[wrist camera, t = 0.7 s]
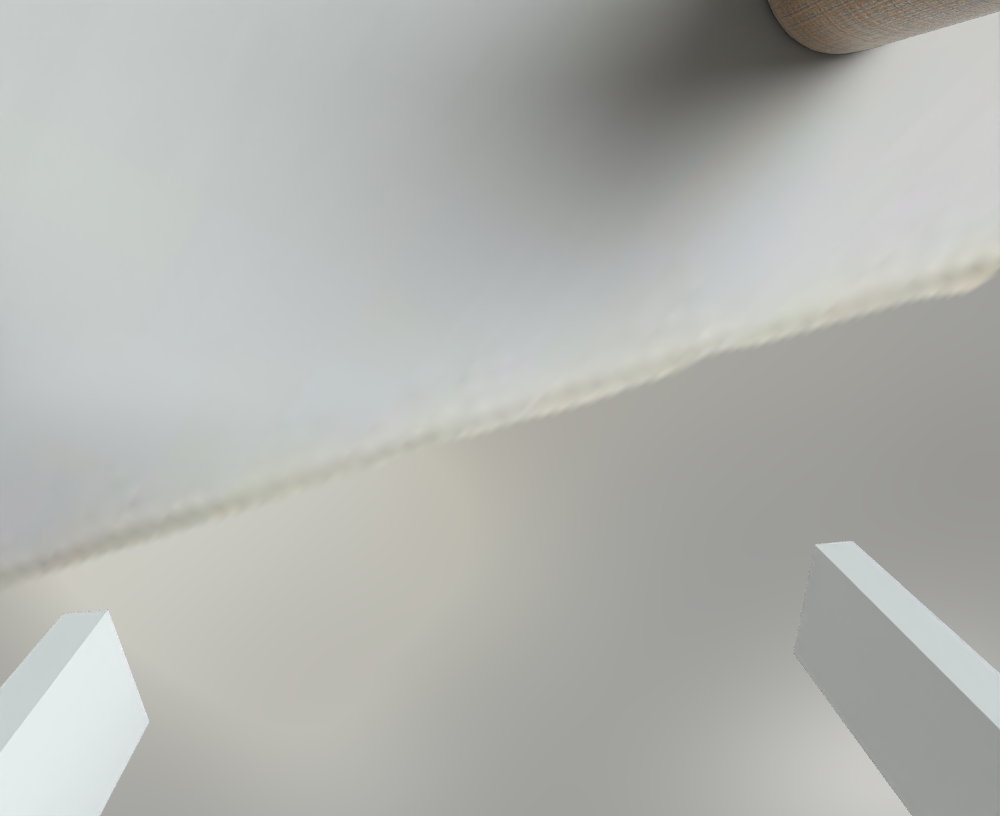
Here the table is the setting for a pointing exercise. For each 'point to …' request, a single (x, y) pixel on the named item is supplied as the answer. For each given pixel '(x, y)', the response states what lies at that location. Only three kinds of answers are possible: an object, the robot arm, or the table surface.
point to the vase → (870, 20)
